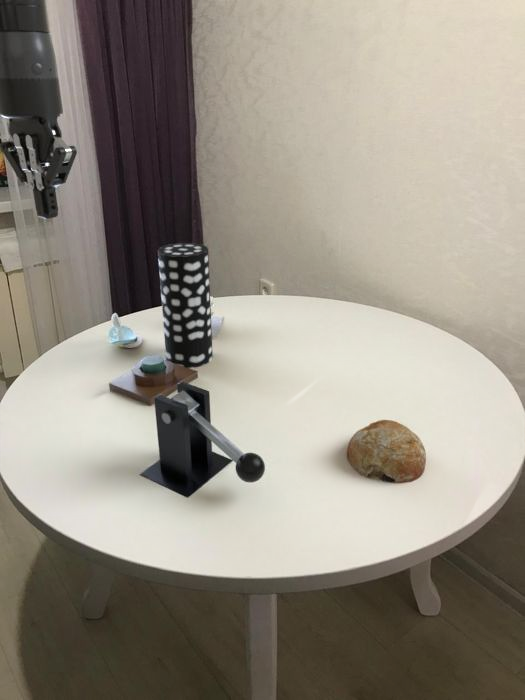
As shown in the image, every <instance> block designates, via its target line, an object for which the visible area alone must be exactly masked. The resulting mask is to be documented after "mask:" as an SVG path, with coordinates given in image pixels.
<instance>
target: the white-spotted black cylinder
mask: <svg viewBox="0 0 525 700" xmlns="http://www.w3.org/2000/svg"><path fill="white" fill-rule="evenodd" d="M209 256H210V255H209V248H208V246H206V245H204V244H201V243H195V242H178V243H170V244H166V245H163V246H160V247H159V248H158V249H157V258H158V259H157V260H158V270H159V283H160V297H161V298H160V299H161V307H162V308H161V309H162V322H163V335H164V337H163V338H164V349H165V360H168V361H171V362H172V363H174V364H177V365H180V366H183V367H186V368H189V369H194V368H199V367H203V366H205V365H207V364H209V363H210V362H211V361H212V360H213V357H214V354H213V337H212V329H211V304H210V302H211V301H210V296H211V284H210V283H211V281H210V259H209Z"/></svg>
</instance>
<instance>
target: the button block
mask: <svg viewBox="0 0 525 700" xmlns="http://www.w3.org/2000/svg"><path fill="white" fill-rule="evenodd" d="M164 365H165V369H164V371H162V372H160V373H155V374H146V373H143V372H142V366H141V361H139V362H137V363H134V365H133V367H132V368H131V371H129V372H127V373H126V374H124V375H122V376H120V377H118V378H116V379H114V380H112V381H110V382H109V383H108V388H109V392H115V393H117V394H120V395H122V396H124V397H127V398H130V399H132V400H135V401H137V402H140V403H141V404H145V405H147V406H150V407H152V406H153V405H154V406H155V402H154V398H155V397H157V396H158V395H162V396H165V397H167V398H168V396H170V395H172V394H174V393H175V392H177V384H179V383H180V382H185V383H188V384H191V383H192V382H193V381H195V380H197V379H198V378H199V374H198V373H199V372H198V371H197V370H195V369H193V368H186V367H183V366H180V365H177V364H174V363H172V362H171V361H168V360H166V358H164Z"/></svg>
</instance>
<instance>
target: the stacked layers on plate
mask: <svg viewBox="0 0 525 700" xmlns="http://www.w3.org/2000/svg"><path fill="white" fill-rule="evenodd" d="M213 299H214V296H211V295H210V304H211V329H212V338H217V337H218V335H219V332H220V328H221V325H222V323H223V321H224V317H220V316H219V317H218V316H214V315H215V312H214V311H213V307H214V302H212V300H213Z"/></svg>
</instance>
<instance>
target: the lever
mask: <svg viewBox="0 0 525 700" xmlns="http://www.w3.org/2000/svg"><path fill="white" fill-rule="evenodd" d="M170 399H173V400H175V401H178V402H181V403H183V404H186V405H188V418H189V421H190V422H191V423H192V424H193V425H194V426H195V427H196V428H198V429H199V430H200V431H201V432H202V433H203V434H204V435H205V436H206V437H208V438H209V439H210V440H211V441H212V444H213V445H215V446H216V447H217V448H218V449H220V450H221V452H223V453H224V454H225V455H226V456H227V457H228V458H229V459H231V460H233V461H232V462H234V463H235V473H236V475H237V477H238V478H239V479H240V480H241V481H242V482H245V483H251V484H252V483H255V482H258V481H260V479H262V478H263V476H264V474H265V471H266V465H265V462H264V459H263V458H262V457H261V456H260V455H259V454H257V453H255V452H246V453H244V452H243V451H242V450H240V448H238V446H236V445H235V443H233V442H232V441H231V440H229V439H228V438H227V437H226V436H225V435H224V434H222V432H220V430H218V429H217V428H216V427H215V426H213V424H212V423H211V424H210V423H209V422H208V421H207V420H206V419H204V418H203V417H202V416H201V415H200V414H199V413H198V412H197V409H198V407H199V405H200V404H199V403H197V402H196V401H195V400H194V399H193V398H192V397H191V396H190V395H188V394H187V393H186V392H185V391H184V390H183V391H181V392H180V393H178V392H177V393H176V394H175V395H173V396H171V398H170Z"/></svg>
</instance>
